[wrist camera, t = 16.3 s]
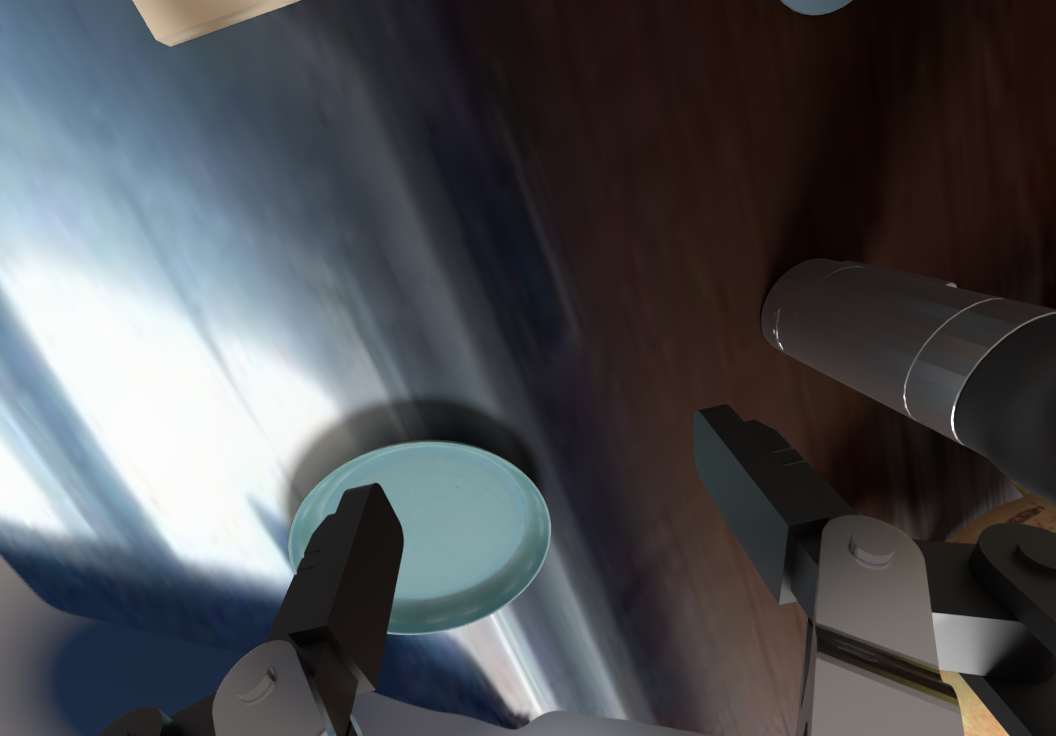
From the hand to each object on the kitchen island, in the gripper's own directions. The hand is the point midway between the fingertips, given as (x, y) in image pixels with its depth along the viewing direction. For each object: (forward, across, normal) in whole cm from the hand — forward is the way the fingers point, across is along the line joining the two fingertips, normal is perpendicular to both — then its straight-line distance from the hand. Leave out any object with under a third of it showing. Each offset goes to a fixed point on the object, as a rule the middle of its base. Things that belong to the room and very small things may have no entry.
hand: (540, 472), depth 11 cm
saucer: (+24, +14, +25) cm, 37 cm away
